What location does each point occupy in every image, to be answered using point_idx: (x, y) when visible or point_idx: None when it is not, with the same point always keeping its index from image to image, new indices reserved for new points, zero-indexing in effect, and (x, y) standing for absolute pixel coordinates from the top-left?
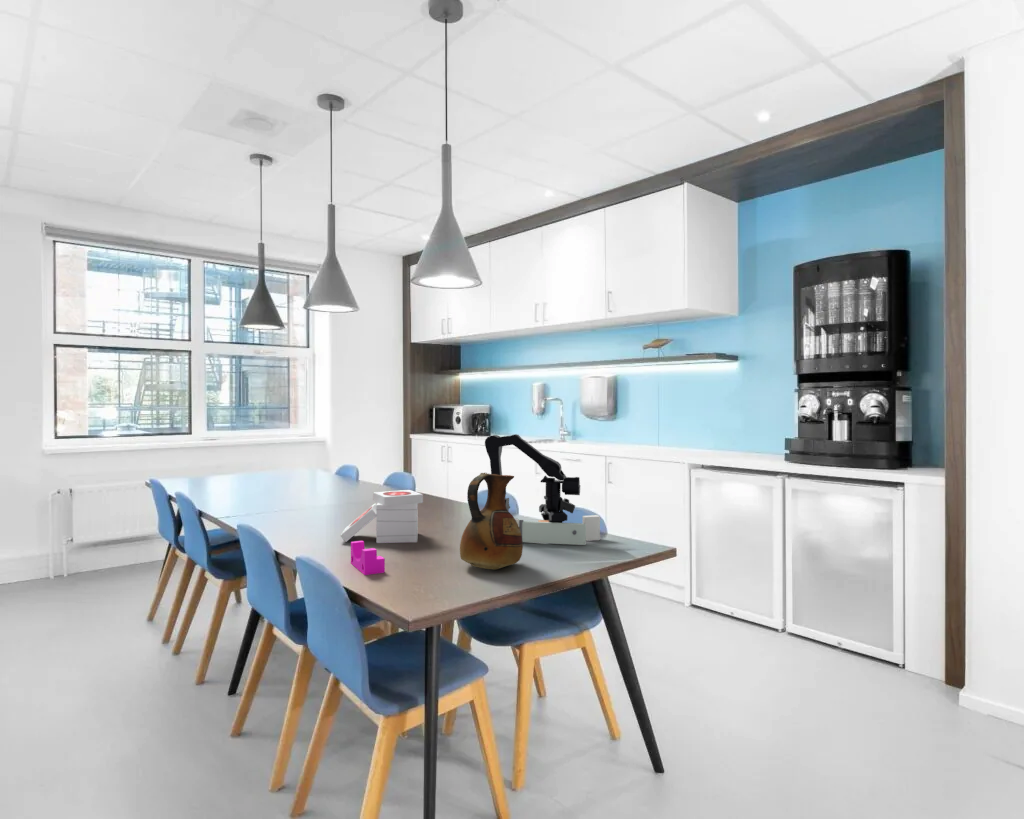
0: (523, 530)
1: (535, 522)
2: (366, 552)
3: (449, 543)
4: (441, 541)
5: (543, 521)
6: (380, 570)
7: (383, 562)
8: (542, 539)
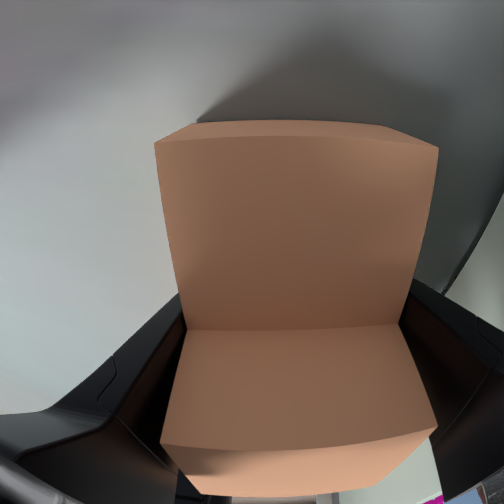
0: None
1: (424, 502)
2: None
3: (276, 497)
4: (249, 500)
5: (281, 487)
6: None
7: (442, 497)
8: None
